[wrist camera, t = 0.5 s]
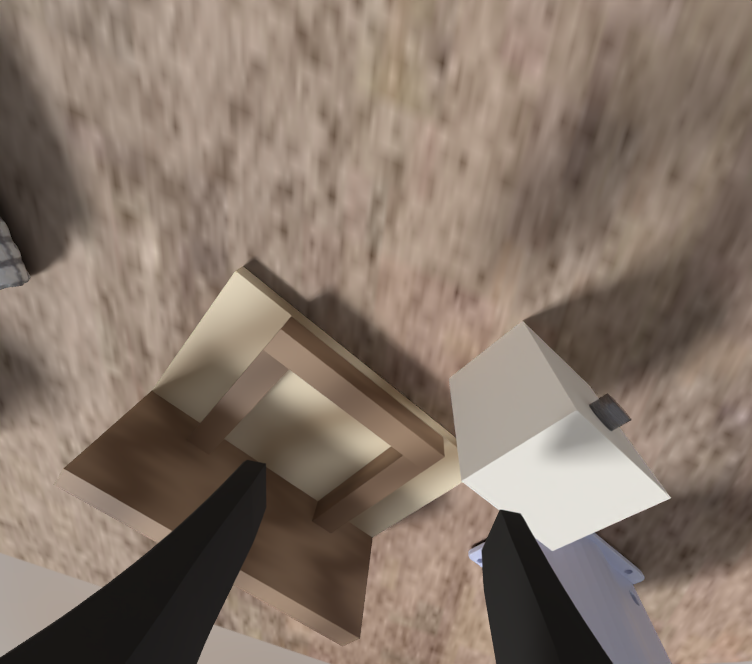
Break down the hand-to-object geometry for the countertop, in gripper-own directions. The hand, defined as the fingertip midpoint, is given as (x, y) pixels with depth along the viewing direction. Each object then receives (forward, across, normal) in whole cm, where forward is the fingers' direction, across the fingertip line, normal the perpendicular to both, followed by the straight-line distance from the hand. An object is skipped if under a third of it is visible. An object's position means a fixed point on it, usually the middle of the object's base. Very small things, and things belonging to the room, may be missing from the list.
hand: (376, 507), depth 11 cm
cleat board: (+10, +4, +6) cm, 12 cm away
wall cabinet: (+10, -7, 0) cm, 12 cm away
